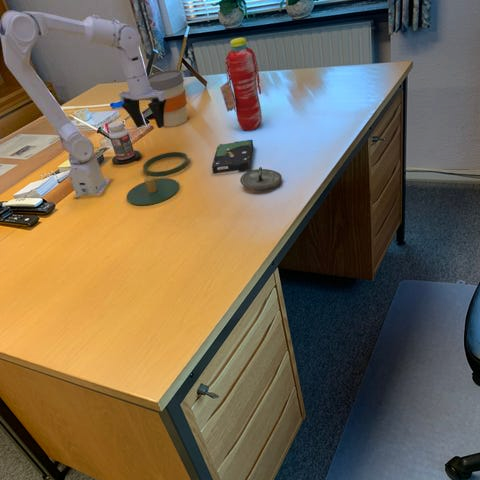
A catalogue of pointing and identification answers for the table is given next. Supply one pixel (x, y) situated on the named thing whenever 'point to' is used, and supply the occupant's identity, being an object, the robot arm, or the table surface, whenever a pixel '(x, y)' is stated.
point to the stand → (123, 162)
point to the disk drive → (233, 157)
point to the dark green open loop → (167, 172)
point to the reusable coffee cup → (171, 95)
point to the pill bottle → (120, 140)
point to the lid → (261, 179)
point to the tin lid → (152, 191)
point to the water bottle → (242, 85)
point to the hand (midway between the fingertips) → (150, 126)
